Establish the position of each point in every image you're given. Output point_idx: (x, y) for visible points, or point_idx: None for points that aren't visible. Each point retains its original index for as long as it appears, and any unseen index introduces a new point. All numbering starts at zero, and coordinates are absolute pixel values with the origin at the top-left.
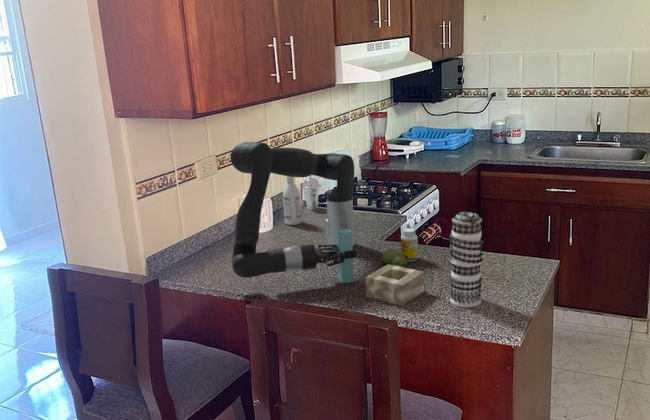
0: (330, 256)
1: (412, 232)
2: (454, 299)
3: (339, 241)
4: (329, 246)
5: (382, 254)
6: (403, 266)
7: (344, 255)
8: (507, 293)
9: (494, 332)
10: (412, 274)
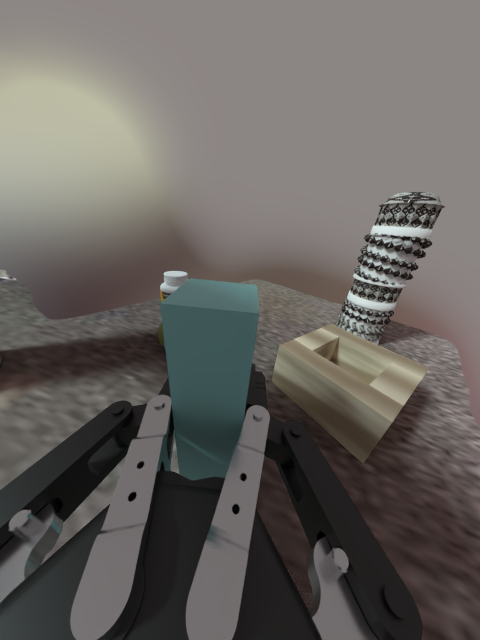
0: (341, 550)
1: (187, 275)
2: (376, 339)
3: (212, 374)
4: (125, 461)
5: (163, 336)
6: None
7: (273, 421)
8: (328, 309)
9: (454, 348)
10: (348, 337)
